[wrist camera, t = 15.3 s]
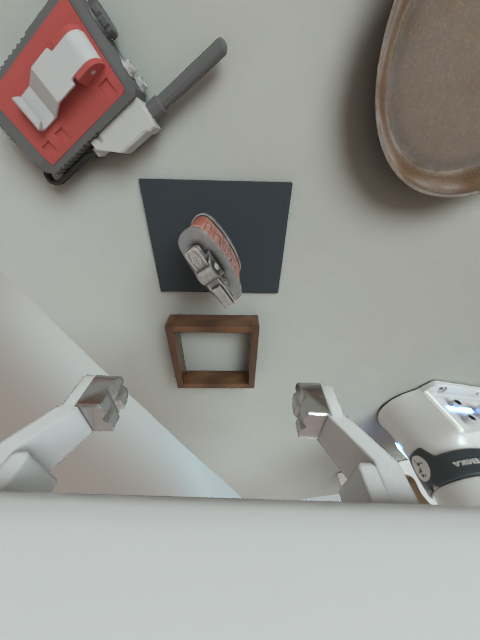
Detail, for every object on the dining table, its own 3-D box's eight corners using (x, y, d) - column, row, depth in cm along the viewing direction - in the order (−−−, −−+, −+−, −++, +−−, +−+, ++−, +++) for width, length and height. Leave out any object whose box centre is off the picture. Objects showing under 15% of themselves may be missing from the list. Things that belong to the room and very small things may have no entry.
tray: (257, 315, 33) (259, 327, 31) (252, 374, 41) (254, 388, 38) (170, 314, 33) (164, 326, 31) (181, 374, 41) (177, 388, 38)
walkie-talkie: (80, 204, 25) (233, 66, 19) (53, 210, 21) (232, 43, 15) (-4, 112, 20) (162, -102, 15) (-56, 100, 17) (137, -190, 11)
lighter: (185, 223, 26) (160, 250, 17) (209, 205, 25) (195, 226, 16) (224, 278, 30) (219, 322, 21) (246, 265, 29) (250, 306, 20)
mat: (291, 182, 24) (292, 182, 23) (277, 291, 31) (277, 293, 31) (139, 178, 23) (138, 178, 23) (161, 290, 31) (161, 291, 31)
